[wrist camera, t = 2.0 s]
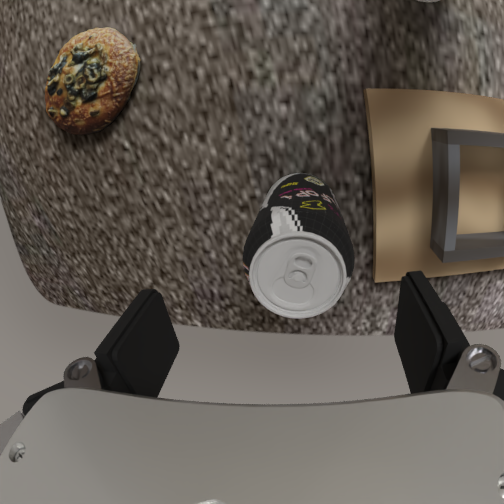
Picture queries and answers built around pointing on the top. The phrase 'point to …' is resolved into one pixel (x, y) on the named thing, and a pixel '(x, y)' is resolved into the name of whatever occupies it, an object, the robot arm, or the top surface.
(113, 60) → the bread roll
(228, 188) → the top surface
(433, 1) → the cylindrical container
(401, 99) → the board
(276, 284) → the beverage can
